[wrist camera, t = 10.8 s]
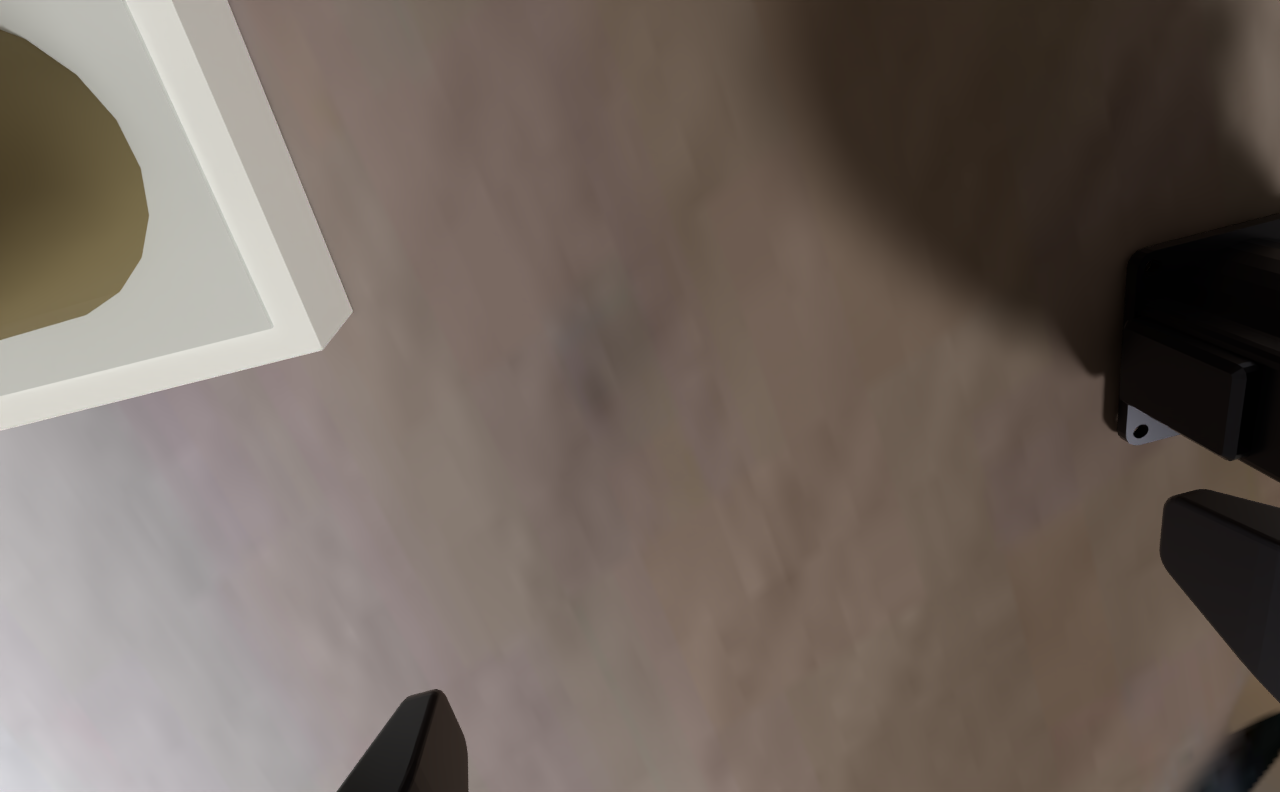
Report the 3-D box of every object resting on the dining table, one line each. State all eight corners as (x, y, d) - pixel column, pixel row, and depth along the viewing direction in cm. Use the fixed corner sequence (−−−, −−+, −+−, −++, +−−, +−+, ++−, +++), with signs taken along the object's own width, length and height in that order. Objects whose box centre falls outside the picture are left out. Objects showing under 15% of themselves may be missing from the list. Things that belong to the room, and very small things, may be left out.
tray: (174, -129, 16) (93, -175, 13) (352, 311, 20) (321, 352, 17) (-296, -18, 15) (-488, -39, 13) (-17, 403, 20) (-112, 460, 17)
